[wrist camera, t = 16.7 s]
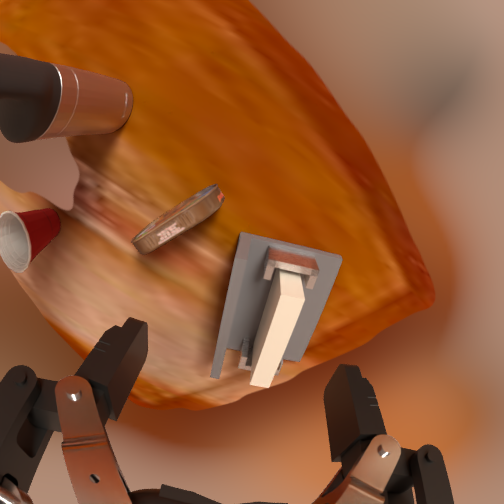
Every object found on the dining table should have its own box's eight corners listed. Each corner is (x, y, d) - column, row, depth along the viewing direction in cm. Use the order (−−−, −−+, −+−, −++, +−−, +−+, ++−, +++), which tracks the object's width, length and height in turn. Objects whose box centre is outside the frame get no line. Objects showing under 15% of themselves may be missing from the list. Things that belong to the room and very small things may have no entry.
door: (253, 343, 49) (249, 384, 40) (279, 259, 42) (280, 294, 33) (275, 347, 49) (274, 388, 40) (304, 265, 42) (312, 301, 33)
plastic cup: (68, 195, 42) (23, 214, 31) (72, 250, 46) (34, 278, 35) (32, 192, 42) (-10, 209, 31) (37, 242, 46) (0, 266, 35)
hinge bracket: (217, 340, 51) (208, 376, 42) (240, 231, 42) (232, 257, 34) (299, 356, 52) (302, 393, 43) (340, 255, 43) (356, 284, 34)
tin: (221, 178, 40) (208, 188, 32) (231, 197, 41) (222, 211, 33) (143, 226, 43) (119, 246, 36) (154, 242, 44) (132, 264, 37)
